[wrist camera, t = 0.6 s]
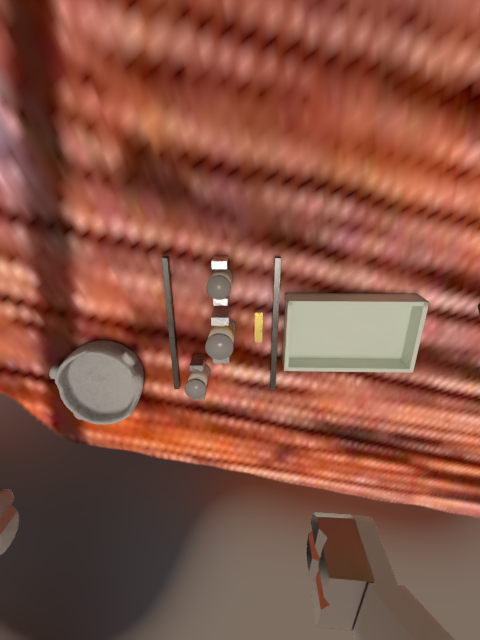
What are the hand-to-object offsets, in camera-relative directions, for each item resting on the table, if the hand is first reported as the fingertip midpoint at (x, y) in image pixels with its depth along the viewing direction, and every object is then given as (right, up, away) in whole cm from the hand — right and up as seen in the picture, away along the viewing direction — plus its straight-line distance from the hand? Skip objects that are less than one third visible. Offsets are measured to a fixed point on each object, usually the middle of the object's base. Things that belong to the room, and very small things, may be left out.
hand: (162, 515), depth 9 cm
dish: (-20, -4, +47) cm, 51 cm away
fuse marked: (0, +4, +42) cm, 42 cm away
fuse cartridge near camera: (-4, -3, +45) cm, 46 cm away
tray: (+18, +4, +41) cm, 46 cm away
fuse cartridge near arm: (-1, +12, +39) cm, 41 cm away
